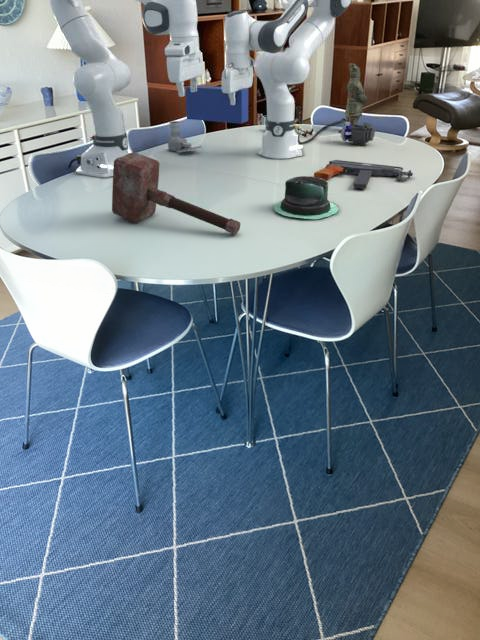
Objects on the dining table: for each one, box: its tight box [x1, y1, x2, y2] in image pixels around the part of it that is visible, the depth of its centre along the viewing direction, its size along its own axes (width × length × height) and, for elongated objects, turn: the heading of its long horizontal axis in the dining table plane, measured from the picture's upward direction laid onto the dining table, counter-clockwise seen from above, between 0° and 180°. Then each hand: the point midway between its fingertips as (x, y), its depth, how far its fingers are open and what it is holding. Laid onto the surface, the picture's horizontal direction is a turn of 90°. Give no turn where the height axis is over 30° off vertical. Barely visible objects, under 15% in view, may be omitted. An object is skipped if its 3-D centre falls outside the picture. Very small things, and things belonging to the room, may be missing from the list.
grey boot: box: [167, 120, 203, 154], centre depth 238 cm, size 9×12×15 cm
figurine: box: [295, 118, 314, 138], centre depth 267 cm, size 13×8×25 cm
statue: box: [344, 62, 368, 127], centre depth 262 cm, size 11×9×30 cm
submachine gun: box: [313, 159, 414, 190], centre depth 199 cm, size 32×3×25 cm
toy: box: [338, 121, 376, 146], centre depth 244 cm, size 9×9×15 cm
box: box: [184, 84, 249, 125], centre depth 209 cm, size 23×6×12 cm, turn 66°
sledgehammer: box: [111, 151, 241, 236], centre depth 161 cm, size 17×10×40 cm
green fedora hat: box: [273, 175, 339, 220], centre depth 172 cm, size 15×19×20 cm
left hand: (188, 94), depth 181 cm, fingers open, 8 cm apart
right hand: (237, 103), depth 205 cm, fingers closed on box, 6 cm apart
